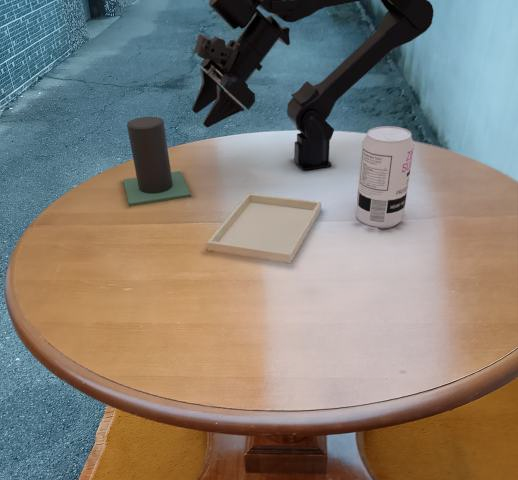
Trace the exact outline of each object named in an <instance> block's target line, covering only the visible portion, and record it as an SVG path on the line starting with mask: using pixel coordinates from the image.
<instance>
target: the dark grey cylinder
mask: <svg viewBox="0 0 518 480" xmlns="http://www.w3.org/2000/svg"><path fill="white" fill-rule="evenodd" d="M126 128H127V132H128V133H127V134H128V138H129V144H130V150H131V154H132V159H133V165H134V169H135V176H136V177H137V181H138V186H139V190H140V191H142V192H144V193H150V194H155V193H161V192H165V191H167V190H169V189H171V188H172V186H173V183H172V176H171V172H172V170H171V169H172V168H171V163H170V157H169V155H170V154H169V148H168V143H167V135H166V129H165V128H166V127H165V122H164V120H163V119H162V118H161V117H158V116H141V117H137V118H133V119H130V120H129V121H128V122H127V123H126Z"/></svg>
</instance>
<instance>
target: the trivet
mask: <svg viewBox="0 0 518 480" xmlns="http://www.w3.org/2000/svg"><path fill="white" fill-rule="evenodd" d="M171 176H172V183H173V186H172V188H171V189H169V190H167V191H165V192H161V193H155V194H150V193H144V192H142V191H140V190H139V186H138V181H137V176H136V177H130V178H123V179H122V181H123V185H124V189H125V194H126V198H127V202H128V206H129V207H135V206H141V205H147V204H154V203H161V202H167V201H173V200H178V199H179V200H180V199H185V198H191V197H192V194H191V191H190V189H189V187H188V185H187V183H186V180H185V178H184V176H183V174H182V172H181V171H180V170H177V171H171Z"/></svg>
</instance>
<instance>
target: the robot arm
mask: <svg viewBox="0 0 518 480" xmlns="http://www.w3.org/2000/svg"><path fill="white" fill-rule="evenodd" d="M360 1H361V2H362V0H209V1H208V5H209V7H210V8H211V9H213V11H214V12H215V13H216V14H217V15H218V16H219V17H220V18H221V20H223V21H224V22H225V23H226V25H228V26H229V28H231V29H232V30H236V29H237V28H239V29H241V30H243V29H244V30H243V31H242V32H241V33H240V35H239V36H238V37H237V39H236V40H235V39H230V40H229V42H228V43H227V44H226V40H224V39H223V38H220V37H218V36H217V35H214V37H213V38H212V37H209V36H207V35H204V34H202V33H198V37H197V40H196V43H195V47H194V51H193V54H194V53H195V54H196V55H197V57H199V58H201V59H203V60H202V61H201V62H200V66H201V67H202V68H201V67H200V68H199V71H200V75H201V84H200V88H199V90H198V93H197V95H196V99H195V101H194V103H193V106H192V108H191V109H192V112H193V113H195V114H198V113H200V112H201V111H203V110H204V109H205V108H206V107H208V106H209V105H211V104H212V106H211V107H210V109H209V111H208V113H207V115H206V116H205V119H204V121H203V123H202V125H203V126H204V127H205V128H211V127H212V126H214V125H216V124H218V123H220V122H221V121H223V120H226V119H227V118H229V117H232V116H234V115H236V114H238V113H240V112H244V111H246V109H247V110H248V111H250V109H251V108H252V107H253V106H254V104H255V103H256V94H255V92H254V91H252V89H250V88H249V84H248V83H247V82H248V81H249V79H250V78H251V77H252V75H253V74H254V73H255V71H256V70H257V71H258V72H260V71H261V70H262V69H263V65H262V64H261V63H262V62H263V61H264V60H265V58H266V57H267V55H268V54H269V53H270V51H271V50H272V49H273V47H274V46H275V45H276V44H277V42H278V41H280V42H281V43H282V44H284V45H286V46H290V45H291V40H290V39H291V38H290V31H291V30H290V29H291V28H290V27H288V26H281V24H280V23H279V22H278V21H277V20H276V19H275V18H274V17H273V16H272V15H269V16H267V17H266V16H265V15H264V14H263V13H262V12H261V11H260V10H259V9H258V7H259V8H260V9H261V10H264V12H266V13H269V14H273V15H274V16H275V17H276V18H279V20H282V21H284V22H285V23H296V22H298V21H300V20H302V19H306V18H308V17H310V16H312V15H314V14H315V13H316V12H318V11H320V10H323V9H325V8H329V7H334V6H340V5H346V4H350V3H356V2H360ZM379 1H380V3H381V4H382V6H383V7H384V8H385V9H386V10H387V11H386V13H384V16H383V18H382V20H381V22H380V24H379V26H378V28H377V30H376V31H374V32H373V33H372V34H371V35H370V36H369V37H368V38H367V39H366V40H365V41H364V42H363V43H361V44H360V45H359V47H357V49H355V50H354V51H353V52H352V53H351V54H349V56H348V57H347V58H345V59H344V60H343V61H342V62H341V63H340V64H339V65H338V66H337V67H336V68H335V69H333V71H331V73H330V74H328V75H327V76H326V77H325V78H324V79H323V80H322V81H320V82H318V83H316V84H314V85H313V84H312V83H310V82H309V80H308V81H305V82H304V83H303V84H302V86H301V87H300V88H299V89H298V90H297V91H296V92H294V93H292V94H291V95H290V96H291V97H292V98H291V99H290V100H289V101H288V103H287V108H286V113H287V114H286V115H287V117H288V119H289V121H291V123H292V124H293V125H294V126H295V128H296V130H297V131H299V132H300V133H296V141H294V149H293V150H294V157H293V161H294V162H295V163H296V164H297V165H298V167H299V168H300V169H301V170H302V171H309V170H318V169H322V168H329V167H332V165H333V163H332V162H331V161H330V143H331V140H332V137H333V135H334V133H335V129H334V127H333V126H332V125H330V123H328V122H327V121H326V120H327V119H328V118H329V117H330V115H331V113H332V111H333V108H334V107H335V104H336V103H337V101H338V100H339V99H340V98H342V97H343V96H344V95H345V94H346V93H347V92H348V91H349V90H351V88H353V87H354V85H355V84H357V82H359V81H360V80H361V79H362V78H364V77H365V76H366V75H367V74H368V73H369V72H370V71H371V70H372V69H373V68H374V67H376V65H378V63H380V62H381V61H382V60H383V59H384V58H385V57H386V56H388V55H389V53H390V52H392V51H394V49H396V48H399V47H400V46H403V45H405V44H408V43H411V42H412V41H413V40H415V39H417V38H418V37H420V36H421V35H423V34H424V33H426V32H427V31H428V29H429V28H430V27H431V26H432V24H433V19H434V7H433V5H432V3H431V1H430V0H379ZM203 69H204V70H203ZM244 107H245V108H244Z"/></svg>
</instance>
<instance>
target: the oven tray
mask: <svg viewBox="0 0 518 480" xmlns="http://www.w3.org/2000/svg"><path fill="white" fill-rule="evenodd" d="M321 211H322V202H321V201H317V200H315V201H314V200H308V199H298V198H290V197H283V196H274V195H267V194H258V193H250V192H248V193H247V194H246V195H244V197H243V199H242V200H241V201H240V202H239V203H238V204H237V206H236V207H235V208H234V209H233V211H232V212H231V213H230V214H229V215H228V216H227V218H226V219H225V220H224V221H223V222H222V223H221V225H220V226H219V227H218V228H217V230H216V231H215V232H214V233H213V235H212V236H211V237H210V238H209V239H208V240H207V242H206V246H207V251H208V252H216V253H222V254H228V255H234V256H239V257H245V258H253V259H258V260H259V259H260V260H266V261H272V262H278V263H285V264H291V263H292V261H293V259H294V258H295V256H296V254H297V253H298V251H299V249H300V248H301V246H302V244H303V242H304V241H305V239H306V237H307V235H308V234H309V232H310V230H311V228H312V227H313V225H314V223H315V222H316V220H317V218H318V216H319V215H320V213H321Z"/></svg>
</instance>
